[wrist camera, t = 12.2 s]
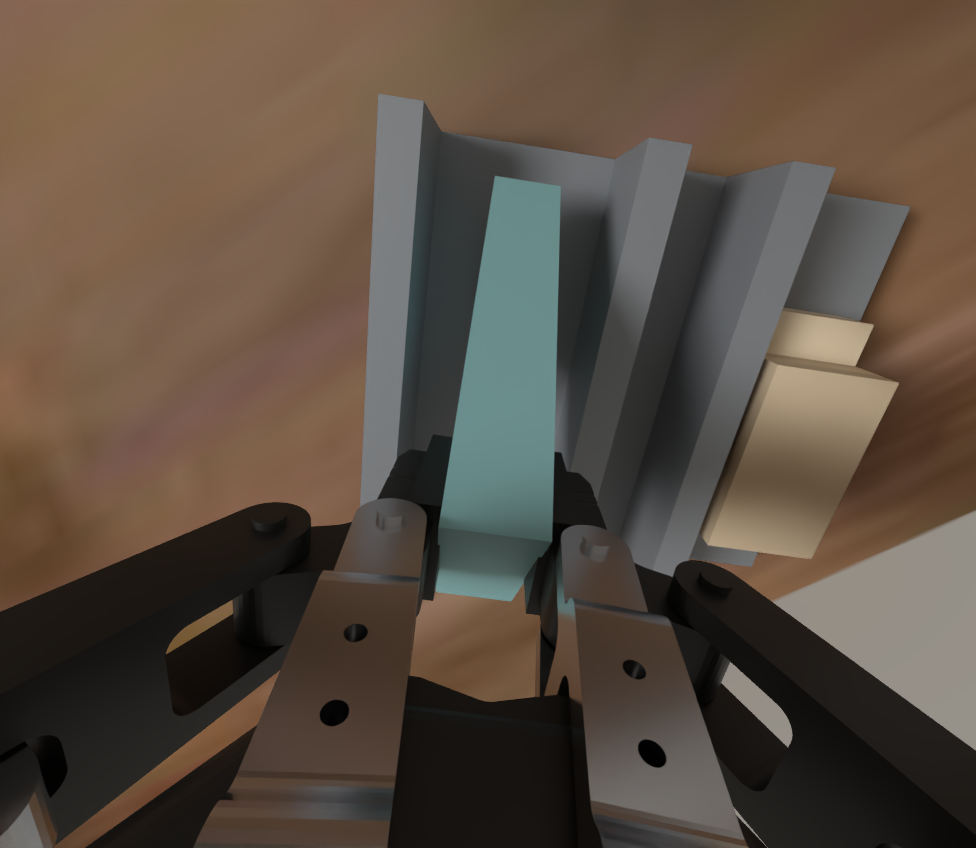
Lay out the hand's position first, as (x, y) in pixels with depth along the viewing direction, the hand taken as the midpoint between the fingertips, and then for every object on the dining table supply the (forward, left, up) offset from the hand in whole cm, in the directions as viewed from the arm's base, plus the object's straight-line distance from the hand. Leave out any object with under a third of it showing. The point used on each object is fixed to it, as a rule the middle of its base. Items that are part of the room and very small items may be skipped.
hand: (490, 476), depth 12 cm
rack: (-1, +4, -9) cm, 10 cm away
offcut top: (0, +11, -6) cm, 12 cm away
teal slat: (-5, 0, -6) cm, 8 cm away
